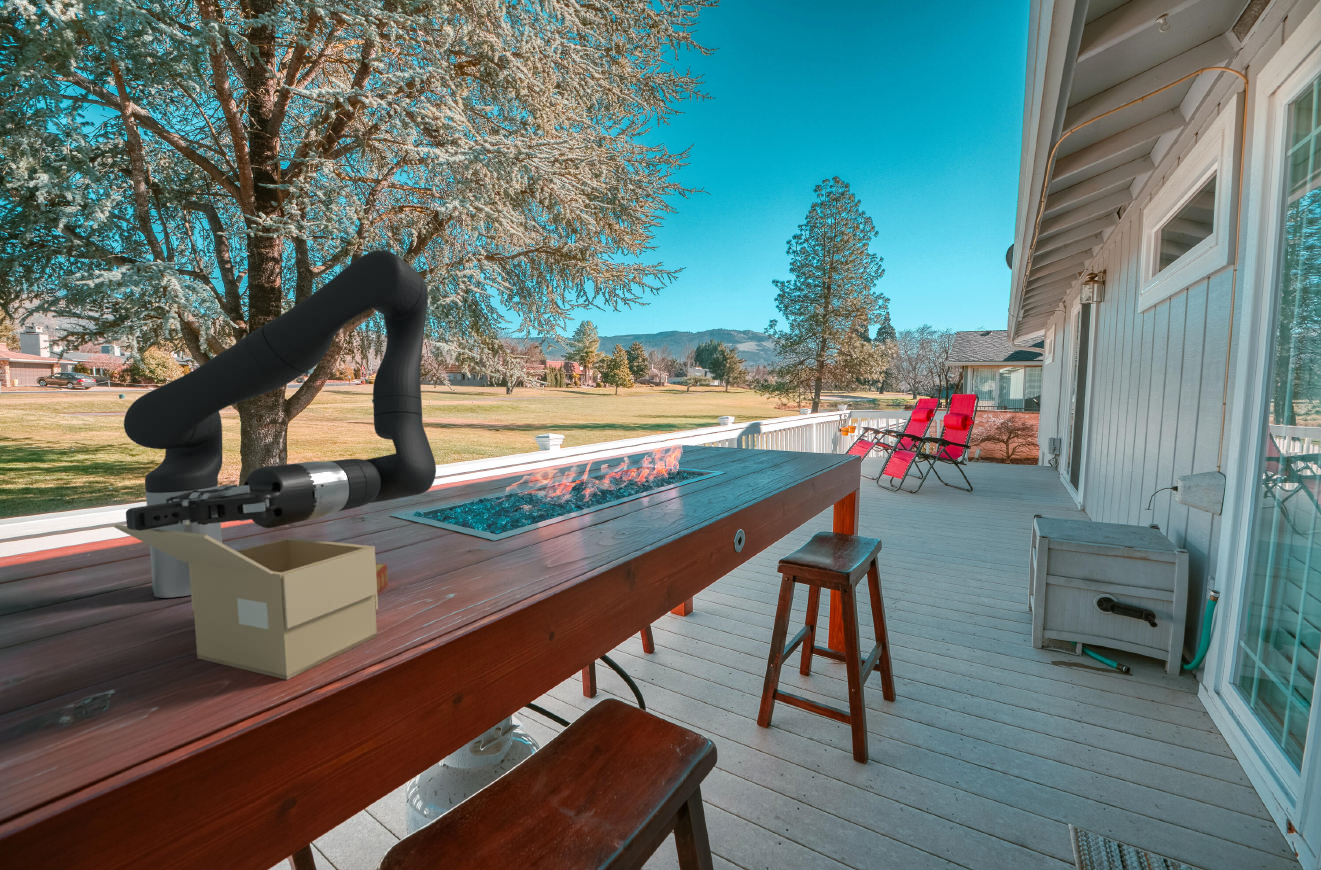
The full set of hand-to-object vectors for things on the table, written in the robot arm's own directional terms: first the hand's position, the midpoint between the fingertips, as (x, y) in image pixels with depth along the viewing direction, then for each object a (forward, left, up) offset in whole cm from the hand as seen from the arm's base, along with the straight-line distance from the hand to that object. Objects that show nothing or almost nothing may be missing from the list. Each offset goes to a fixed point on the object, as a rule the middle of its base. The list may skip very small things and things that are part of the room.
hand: (130, 520), depth 56 cm
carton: (-13, +30, -20) cm, 38 cm away
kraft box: (0, +15, -20) cm, 25 cm away
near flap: (0, +5, -4) cm, 7 cm away
